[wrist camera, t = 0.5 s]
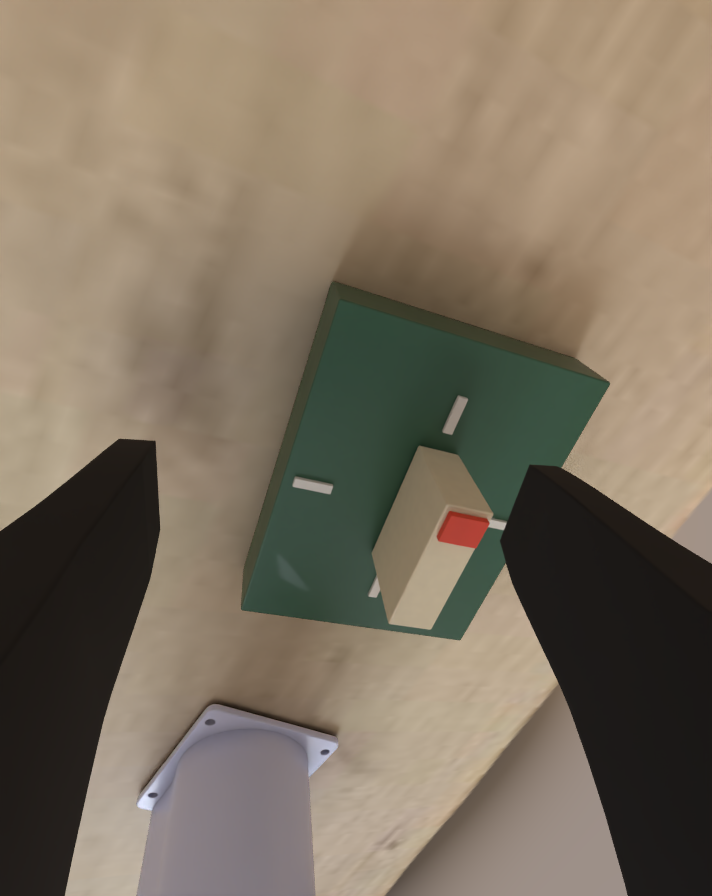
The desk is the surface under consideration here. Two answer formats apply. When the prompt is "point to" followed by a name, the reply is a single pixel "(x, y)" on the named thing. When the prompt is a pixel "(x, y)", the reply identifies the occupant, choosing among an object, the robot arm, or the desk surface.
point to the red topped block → (428, 537)
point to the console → (402, 451)
